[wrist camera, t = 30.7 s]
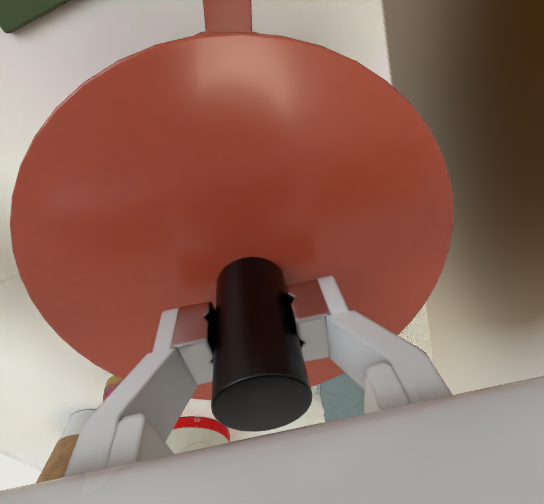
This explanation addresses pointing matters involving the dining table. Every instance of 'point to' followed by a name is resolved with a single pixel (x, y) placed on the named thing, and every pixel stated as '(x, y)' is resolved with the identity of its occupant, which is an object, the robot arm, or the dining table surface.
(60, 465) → the coffee cup
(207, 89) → the pot lid
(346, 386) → the blue-grey cup
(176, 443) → the kitchen timer
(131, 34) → the dining table surface
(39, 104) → the dining table surface
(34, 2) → the mat
